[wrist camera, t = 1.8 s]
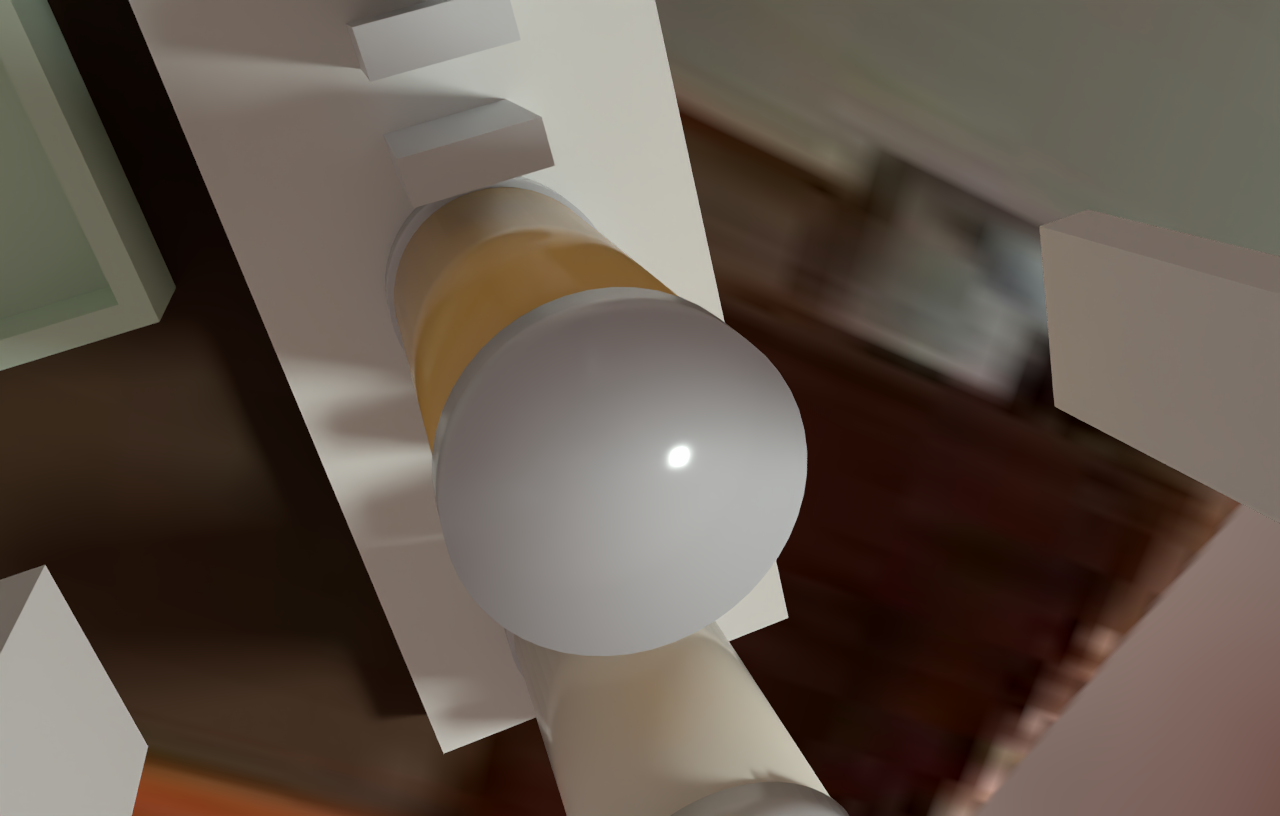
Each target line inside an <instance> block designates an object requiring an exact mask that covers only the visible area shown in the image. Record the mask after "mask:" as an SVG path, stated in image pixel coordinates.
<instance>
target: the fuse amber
mask: <svg viewBox="0 0 1280 816" xmlns="http://www.w3.org/2000/svg"><path fill="white" fill-rule="evenodd" d="M385 291H386V298H387V305H388V309H389V313H390V317H391V321H392V324H393V328H394V331H395V334H396V336H397V338H398V341H399V343H400V345H401V347H402V348H403V350H404V352H405V353H406V357H407V361H408V365H409V369H410V373H411V376H412V380H413V384H414V388H415V392H416V396H417V400H418V403H419V407H420V411H421V415H422V419H423V423H424V426H425V430H426V434H427V438H428V442H429V446H430V449H431V453H432V483H433V491H434V498H435V503H436V507H437V511H438V515H439V519H440V523H441V528H442V532H443V536H444V539H445V543H446V546H447V550H448V553H449V557H450V560H451V562H452V564H453V566H454V568H455V571H456V573H457V575H458V577H459V579H460V581H461V582H462V584H463V585H464V587H465V588H466V590H467V591H468V593H469V594H470V596H471V597H472V598H473V599H474V601H475V602H476V603H477V604H478V605H479V606H480V607H481V608H482V609H483V610H484V611H485V613H486V614H488V615H489V616H490V617H491V618H492V619H494V620H495V621H496V622H497V623H499V624H500V625H501V626H502V627H504V628H505V629H507V630H509V631H510V632H512V633H514V634H515V635H517V636H519V637H520V638H522V639H525V640H527V641H529V642H532V643H534V644H536V645H539V646H541V647H544V648H548V649H552V650H555V651H559V652H562V653H569V654H576V655H583V656H616V655H626V654H633V653H638V652H642V651H647V650H652V649H655V648H658V647H661V646H664V645H667V644H670V643H673V642H676V641H678V640H680V639H682V638H684V637H687V636H689V635H691V634H693V633H695V632H697V631H699V630H701V629H702V628H704V627H706V626H707V625H709V624H711V623H712V622H714V621H716V620H717V619H718V618H720V617H721V616H722V615H724V614H725V613H727V612H728V611H729V610H731V609H732V608H733V607H734V606H735V605H737V604H738V603H739V602H740V601H741V600H742V599H743V598H744V597H745V596H746V595H748V594H749V593H750V592H751V591H752V589H753V588H754V587H755V586H756V585H757V584H758V583H759V582H760V580H761V579H762V578H763V577H764V576H765V575H766V573H767V572H768V570H769V569H770V568H771V566H772V565H773V563H774V562H775V561H776V559H777V558H778V556H779V555H780V553H781V551H782V549H783V547H784V545H785V544H786V542H787V540H788V538H789V536H790V534H791V531H792V529H793V527H794V524H795V522H796V519H797V517H798V513H799V510H800V506H801V503H802V499H803V495H804V489H805V482H806V475H807V448H806V439H805V431H804V427H803V423H802V420H801V416H800V412H799V409H798V407H797V404H796V402H795V400H794V397H793V395H792V393H791V391H790V389H789V387H788V386H787V384H786V382H785V381H784V379H783V378H782V376H781V374H780V373H779V371H778V370H777V369H776V368H775V367H774V366H773V364H772V363H771V362H770V361H769V360H768V358H767V357H766V356H765V355H764V354H763V353H761V352H760V351H759V350H758V349H757V348H756V347H755V346H753V345H752V344H751V343H750V342H749V341H748V340H746V339H745V338H744V337H742V336H741V335H740V334H739V333H737V332H736V331H735V330H733V329H732V328H731V327H730V326H728V325H727V324H726V323H724V322H723V321H722V320H721V319H719V318H718V317H717V316H715V315H713V314H712V313H710V312H709V311H707V310H706V309H704V308H702V307H701V306H699V305H697V304H695V303H692V302H690V301H688V300H686V299H684V298H681V297H679V296H678V295H676V294H675V293H674V292H673V291H671V290H670V289H669V288H668V287H666V286H665V285H664V284H663V283H661V282H660V281H659V280H658V279H657V278H655V277H654V276H653V275H652V274H650V273H649V272H648V271H647V270H645V269H644V268H643V267H642V266H640V265H639V264H638V263H637V262H635V261H634V260H633V259H632V258H630V257H629V256H628V255H627V254H626V253H624V252H623V251H622V250H621V249H619V248H618V247H617V246H616V245H614V244H613V243H612V242H611V241H609V240H608V239H607V238H606V237H604V236H603V235H602V234H601V233H599V232H598V231H597V230H596V228H595V227H594V225H593V224H592V223H591V222H590V220H589V219H588V218H587V217H586V216H585V215H584V214H583V213H582V212H581V211H580V210H579V209H578V208H577V207H575V206H574V205H573V204H572V203H571V202H569V201H568V200H567V199H565V198H564V197H563V196H562V195H560V194H559V193H557V192H556V191H554V190H552V189H551V188H549V187H547V186H545V185H543V184H541V183H539V182H537V181H534V180H531V179H528V178H525V177H521V176H519V177H516V178H512V179H509V180H506V181H502V182H499V183H496V184H492V185H489V186H486V187H482V188H479V189H476V190H472V191H469V192H466V193H463V194H459V195H456V196H453V197H449V198H446V199H443V200H439V201H436V202H433V203H429V204H426V205H423V206H419V207H416V208H415V209H414V210H413V211H412V213H411V214H410V215H409V216H408V217H407V219H406V220H405V221H404V223H403V225H402V226H401V228H400V230H399V231H398V233H397V235H396V237H395V239H394V242H393V244H392V246H391V250H390V253H389V257H388V260H387V267H386V274H385Z"/></svg>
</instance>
